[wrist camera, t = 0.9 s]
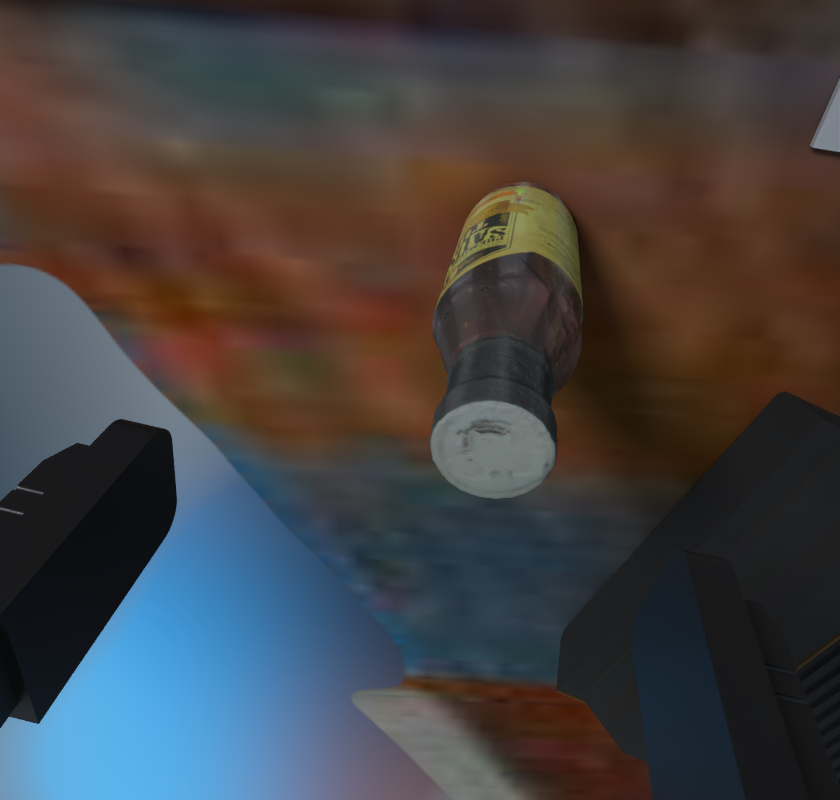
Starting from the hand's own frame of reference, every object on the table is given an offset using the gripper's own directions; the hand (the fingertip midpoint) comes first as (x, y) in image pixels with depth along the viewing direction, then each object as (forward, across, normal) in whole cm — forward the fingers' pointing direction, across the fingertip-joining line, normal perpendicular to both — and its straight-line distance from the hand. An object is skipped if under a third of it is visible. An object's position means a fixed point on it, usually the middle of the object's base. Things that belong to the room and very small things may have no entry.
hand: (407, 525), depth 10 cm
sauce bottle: (+29, -2, +4) cm, 29 cm away
